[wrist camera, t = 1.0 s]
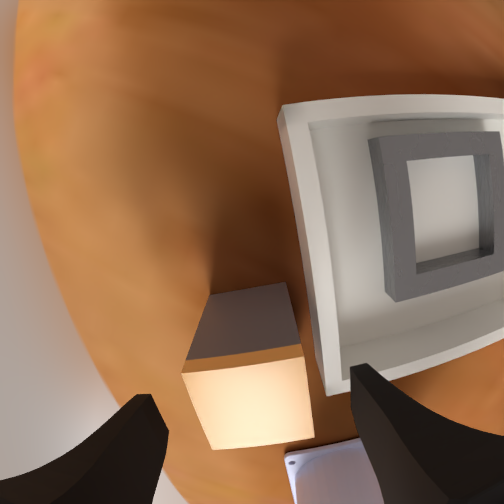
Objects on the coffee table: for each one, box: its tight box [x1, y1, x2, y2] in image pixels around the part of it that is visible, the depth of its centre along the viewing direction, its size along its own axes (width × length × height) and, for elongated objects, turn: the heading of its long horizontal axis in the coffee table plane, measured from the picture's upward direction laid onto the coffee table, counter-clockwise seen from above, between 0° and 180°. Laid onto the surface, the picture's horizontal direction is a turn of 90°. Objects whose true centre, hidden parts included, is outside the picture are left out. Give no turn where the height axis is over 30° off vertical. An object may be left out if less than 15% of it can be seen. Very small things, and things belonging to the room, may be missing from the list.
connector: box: [181, 282, 314, 450], centre depth 13 cm, size 4×4×7 cm
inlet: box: [368, 131, 504, 303], centre depth 14 cm, size 8×8×2 cm
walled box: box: [277, 94, 504, 396], centre depth 14 cm, size 13×16×4 cm
